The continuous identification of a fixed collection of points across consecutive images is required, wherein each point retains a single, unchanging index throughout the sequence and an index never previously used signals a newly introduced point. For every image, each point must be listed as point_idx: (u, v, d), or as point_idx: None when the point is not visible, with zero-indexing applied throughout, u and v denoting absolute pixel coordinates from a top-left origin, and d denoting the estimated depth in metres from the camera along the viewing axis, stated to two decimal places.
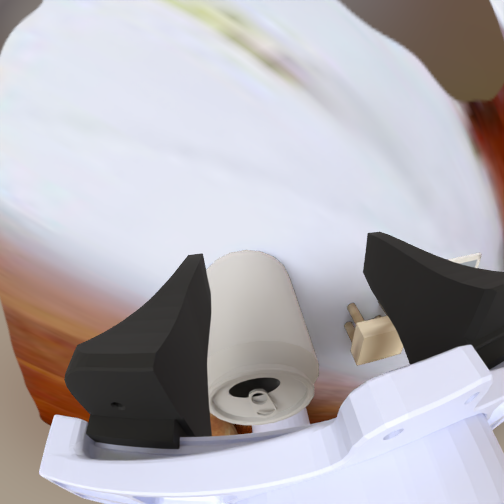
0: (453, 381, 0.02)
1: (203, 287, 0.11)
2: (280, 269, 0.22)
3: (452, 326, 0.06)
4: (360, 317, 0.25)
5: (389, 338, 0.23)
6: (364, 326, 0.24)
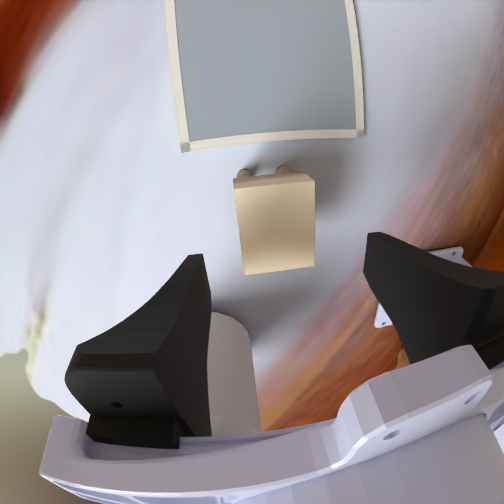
0: (453, 381, 0.02)
1: (203, 287, 0.11)
2: None
3: (452, 326, 0.06)
4: None
5: (258, 225, 0.15)
6: None
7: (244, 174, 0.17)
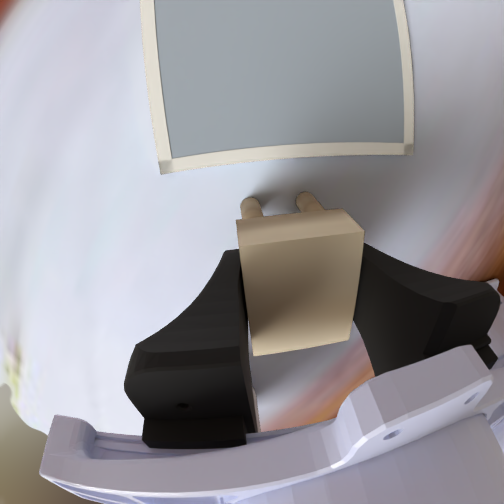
0: (453, 381, 0.02)
1: None
2: None
3: (411, 340, 0.06)
4: None
5: (275, 297, 0.10)
6: None
7: (252, 207, 0.12)
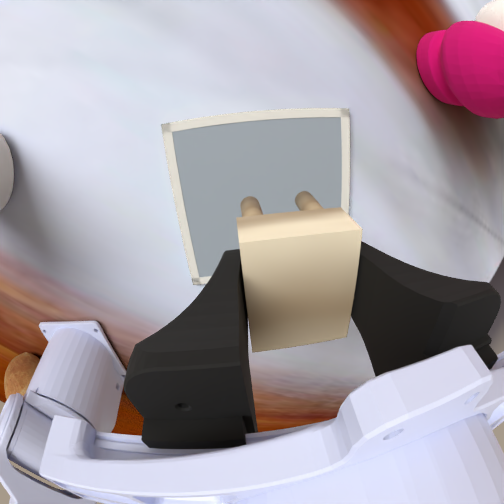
0: (453, 381, 0.02)
1: (243, 282, 0.11)
2: None
3: (412, 340, 0.06)
4: None
5: (275, 293, 0.10)
6: None
7: (252, 206, 0.12)
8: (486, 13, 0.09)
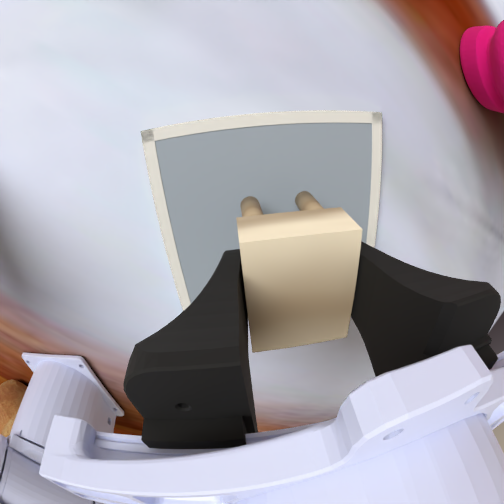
0: (453, 381, 0.02)
1: (243, 282, 0.11)
2: None
3: (412, 340, 0.06)
4: None
5: (275, 293, 0.10)
6: None
7: (252, 206, 0.12)
8: None
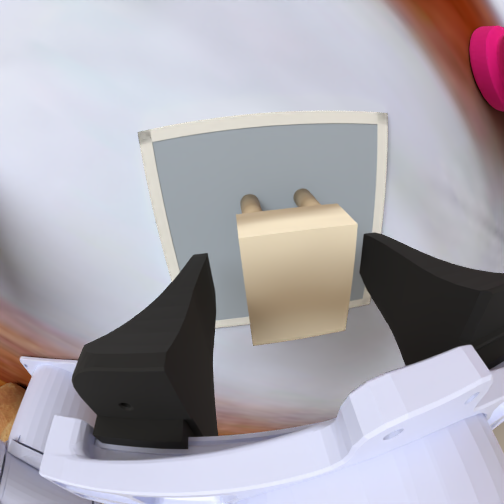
0: (453, 381, 0.02)
1: (208, 286, 0.11)
2: None
3: (447, 328, 0.06)
4: None
5: (273, 287, 0.10)
6: None
7: (251, 203, 0.12)
8: None
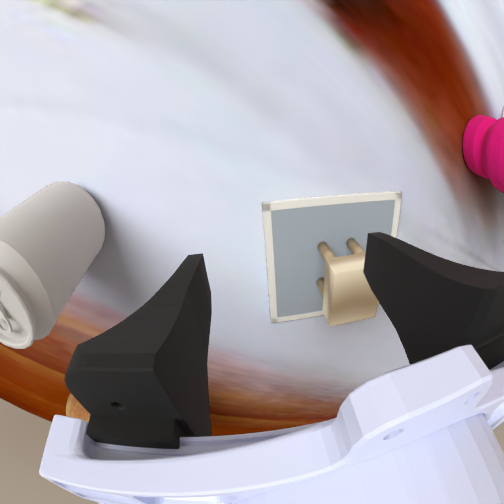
0: (453, 381, 0.02)
1: (203, 287, 0.11)
2: (77, 196, 0.18)
3: (452, 326, 0.06)
4: (323, 296, 0.23)
5: (345, 295, 0.20)
6: (325, 310, 0.22)
7: (327, 249, 0.22)
8: None
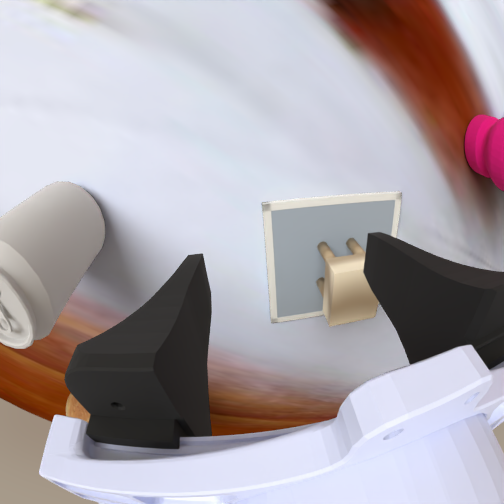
0: (453, 381, 0.02)
1: (203, 287, 0.11)
2: (77, 196, 0.18)
3: (452, 326, 0.07)
4: (323, 296, 0.23)
5: (345, 295, 0.20)
6: (325, 310, 0.22)
7: (327, 249, 0.22)
8: None
